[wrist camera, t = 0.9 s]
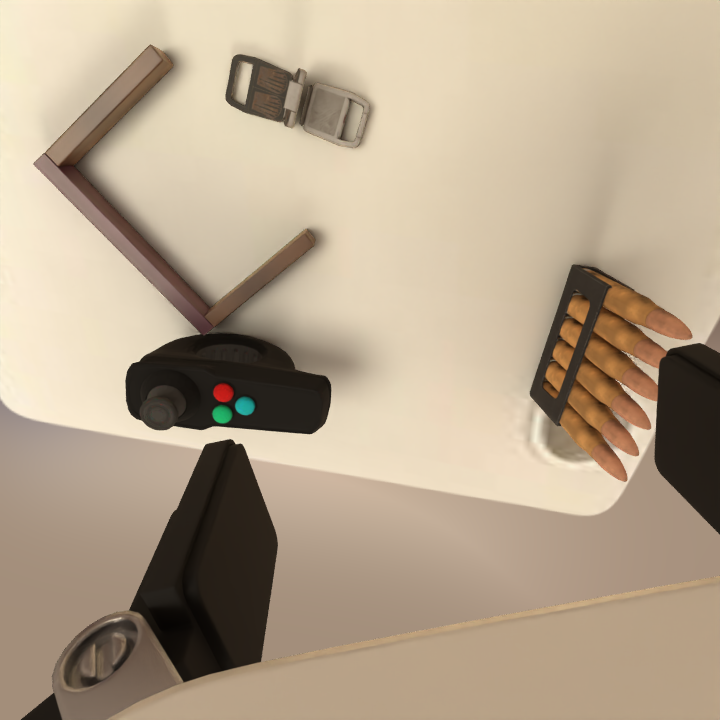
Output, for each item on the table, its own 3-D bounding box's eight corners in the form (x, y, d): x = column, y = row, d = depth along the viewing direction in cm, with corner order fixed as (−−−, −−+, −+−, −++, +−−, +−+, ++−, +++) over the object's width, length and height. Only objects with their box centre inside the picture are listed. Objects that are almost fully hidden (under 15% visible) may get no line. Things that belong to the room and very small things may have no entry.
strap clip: (372, 101, 30) (377, 93, 26) (357, 152, 31) (360, 152, 27) (235, 51, 29) (220, 35, 25) (225, 105, 30) (208, 99, 26)
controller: (164, 315, 35) (103, 374, 26) (335, 337, 36) (334, 401, 27) (164, 369, 37) (107, 442, 27) (327, 388, 38) (324, 465, 29)
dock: (162, 50, 29) (150, 43, 27) (315, 239, 33) (314, 245, 31) (50, 163, 31) (32, 163, 29) (210, 326, 35) (203, 336, 34)
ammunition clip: (550, 398, 39) (634, 495, 28) (528, 395, 39) (604, 492, 28) (596, 267, 35) (716, 321, 24) (572, 263, 35) (681, 316, 24)
